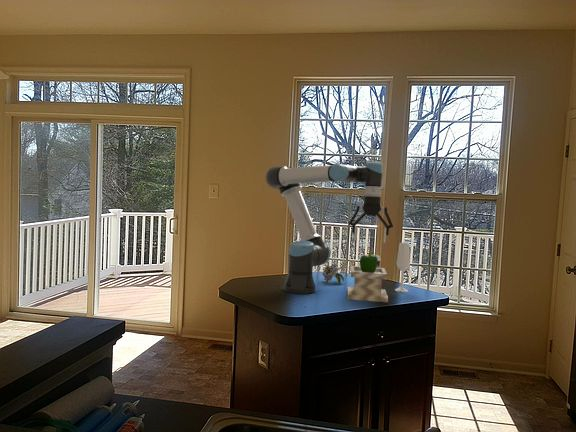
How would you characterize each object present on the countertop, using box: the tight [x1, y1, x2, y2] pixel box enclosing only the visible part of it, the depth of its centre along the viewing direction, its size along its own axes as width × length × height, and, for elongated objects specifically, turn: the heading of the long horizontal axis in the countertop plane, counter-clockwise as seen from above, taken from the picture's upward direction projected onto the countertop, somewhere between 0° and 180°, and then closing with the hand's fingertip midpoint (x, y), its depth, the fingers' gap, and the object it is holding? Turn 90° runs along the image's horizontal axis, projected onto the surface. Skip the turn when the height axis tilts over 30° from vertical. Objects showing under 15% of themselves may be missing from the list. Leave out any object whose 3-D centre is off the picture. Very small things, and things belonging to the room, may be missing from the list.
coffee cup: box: [364, 254, 382, 268], centre depth 246 cm, size 10×10×15 cm
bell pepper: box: [359, 251, 378, 273], centre depth 215 cm, size 8×8×10 cm
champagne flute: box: [394, 242, 411, 293], centre depth 232 cm, size 7×7×24 cm
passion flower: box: [321, 263, 348, 285], centre depth 245 cm, size 11×11×12 cm
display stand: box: [346, 265, 389, 303], centre depth 216 cm, size 18×18×12 cm
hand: (369, 241), depth 215 cm, fingers open, 13 cm apart
